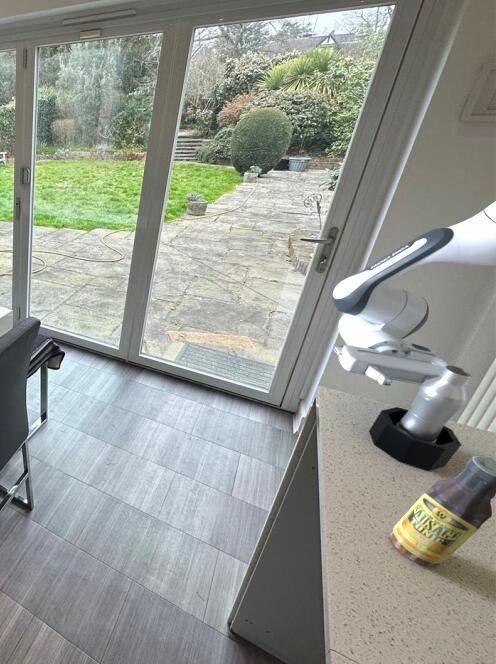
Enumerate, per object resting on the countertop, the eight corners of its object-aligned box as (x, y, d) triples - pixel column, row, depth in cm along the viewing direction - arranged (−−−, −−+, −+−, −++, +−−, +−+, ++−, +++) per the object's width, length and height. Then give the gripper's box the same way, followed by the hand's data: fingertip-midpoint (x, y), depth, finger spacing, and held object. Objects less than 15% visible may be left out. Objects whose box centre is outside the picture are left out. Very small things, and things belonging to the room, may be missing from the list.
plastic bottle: (421, 444, 86) (475, 367, 77) (430, 465, 81) (490, 386, 72) (381, 431, 89) (429, 356, 80) (388, 451, 84) (440, 373, 75)
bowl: (393, 425, 91) (407, 404, 88) (455, 463, 82) (472, 441, 79) (357, 433, 89) (370, 412, 86) (417, 474, 79) (433, 452, 76)
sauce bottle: (378, 538, 67) (444, 452, 58) (401, 526, 69) (468, 441, 60) (428, 578, 62) (509, 489, 53) (451, 563, 64) (533, 476, 55)
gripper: (336, 333, 99) (361, 365, 87) (442, 350, 93) (485, 387, 81) (325, 355, 102) (348, 388, 90) (428, 373, 96) (467, 411, 84)
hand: (414, 387), depth 86 cm, fingers open, 8 cm apart
